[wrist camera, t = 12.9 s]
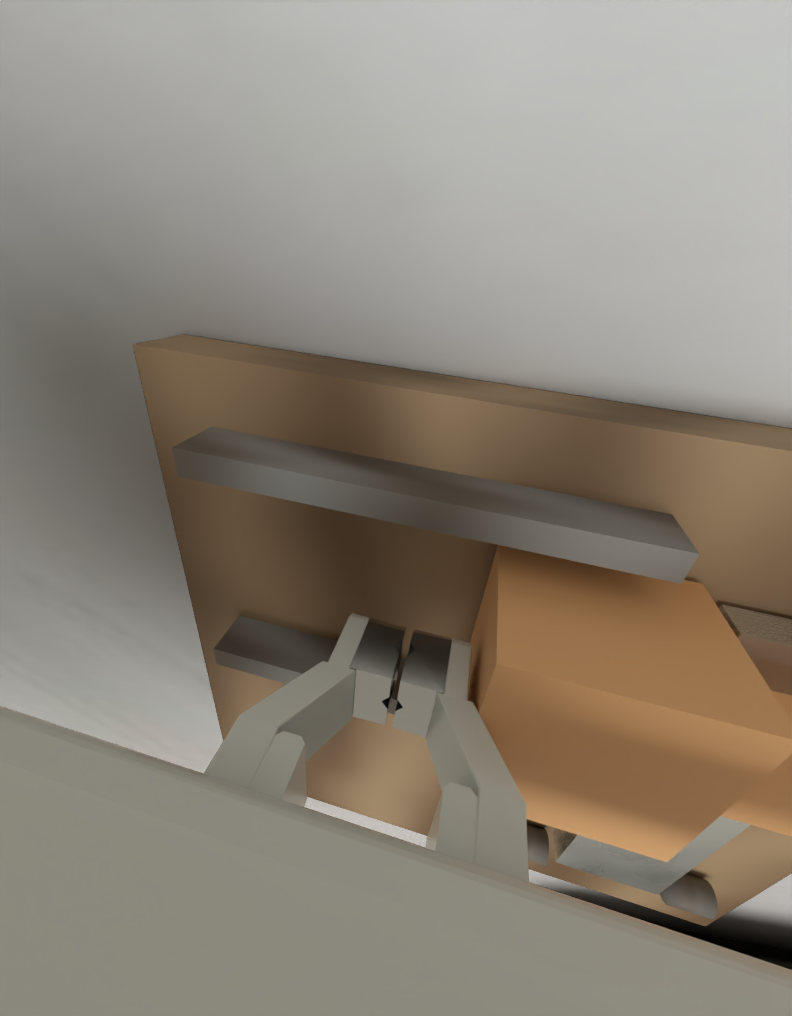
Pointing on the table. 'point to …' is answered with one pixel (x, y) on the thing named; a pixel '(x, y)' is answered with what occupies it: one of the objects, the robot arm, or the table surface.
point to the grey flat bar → (786, 669)
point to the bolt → (626, 705)
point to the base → (443, 540)
